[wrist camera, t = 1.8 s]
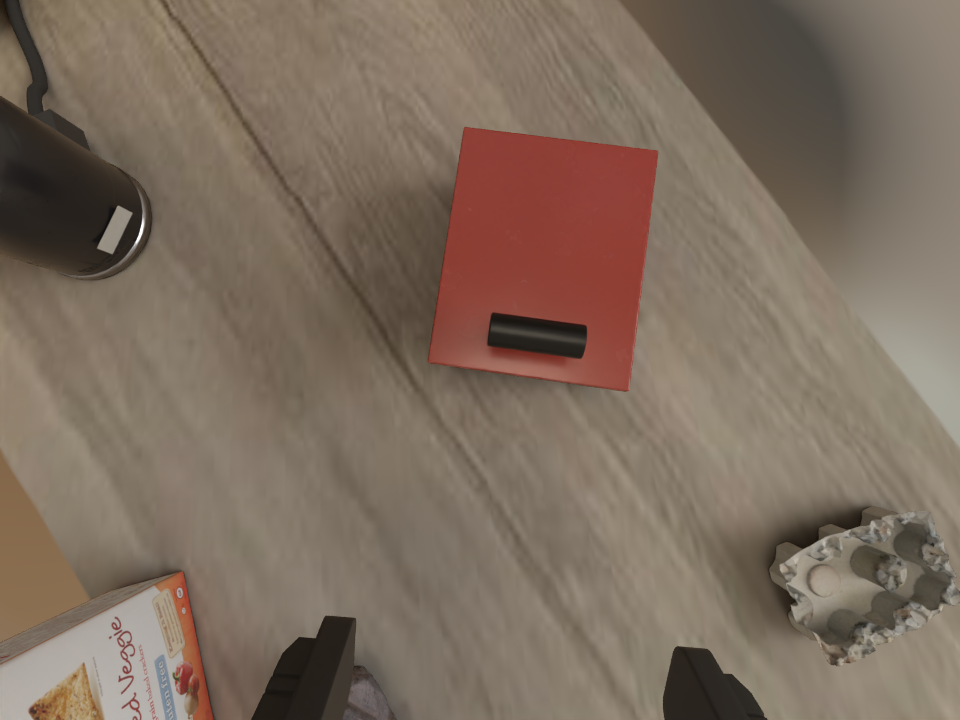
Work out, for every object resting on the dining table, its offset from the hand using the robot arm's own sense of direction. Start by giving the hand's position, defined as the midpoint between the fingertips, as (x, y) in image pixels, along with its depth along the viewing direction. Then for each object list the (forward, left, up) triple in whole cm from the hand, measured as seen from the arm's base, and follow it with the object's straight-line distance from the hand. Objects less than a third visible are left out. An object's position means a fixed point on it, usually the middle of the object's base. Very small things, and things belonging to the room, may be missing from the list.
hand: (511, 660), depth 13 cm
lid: (-11, +11, -18) cm, 24 cm away
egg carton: (+19, +16, -26) cm, 36 cm away
